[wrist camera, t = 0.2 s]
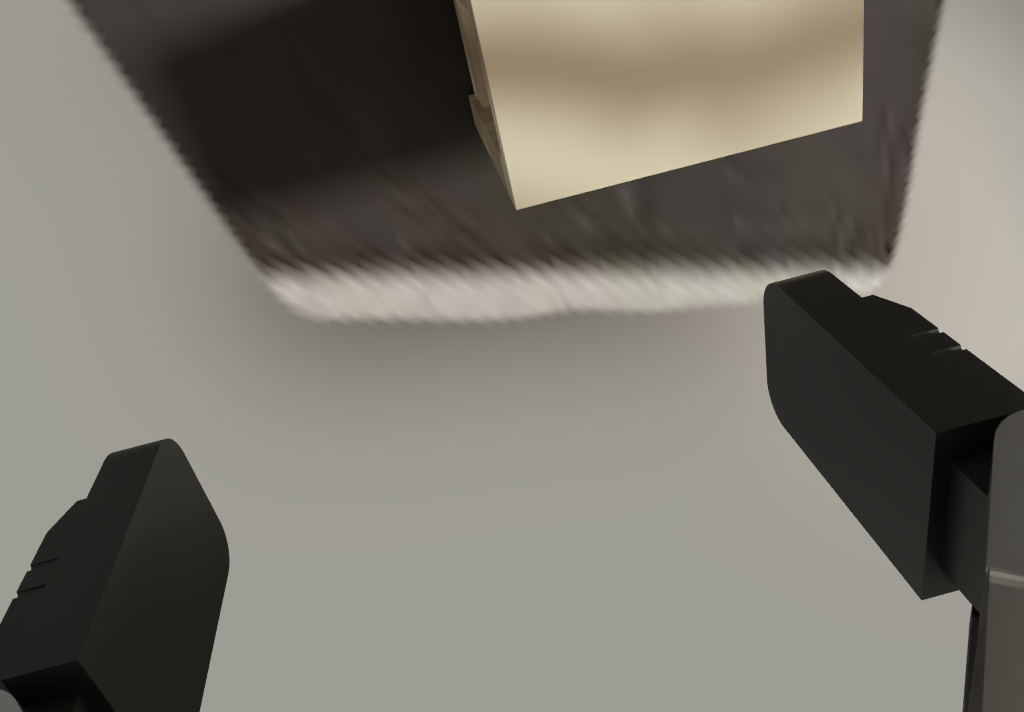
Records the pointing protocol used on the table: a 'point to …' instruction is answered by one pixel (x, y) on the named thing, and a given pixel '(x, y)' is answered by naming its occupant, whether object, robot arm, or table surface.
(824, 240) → the table surface
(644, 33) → the beige u-shaped block
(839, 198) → the table surface
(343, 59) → the table surface
